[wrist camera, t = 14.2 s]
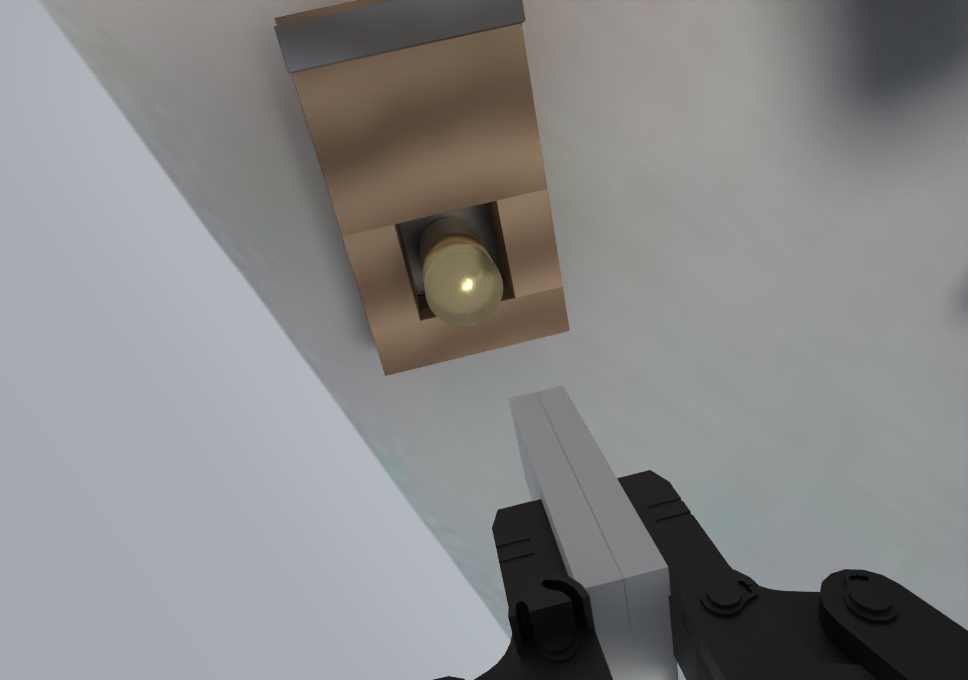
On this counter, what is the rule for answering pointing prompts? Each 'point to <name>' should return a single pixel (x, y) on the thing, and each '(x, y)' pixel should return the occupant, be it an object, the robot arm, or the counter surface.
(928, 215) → the counter surface
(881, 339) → the counter surface
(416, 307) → the jig
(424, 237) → the brass cylinder
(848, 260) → the counter surface
